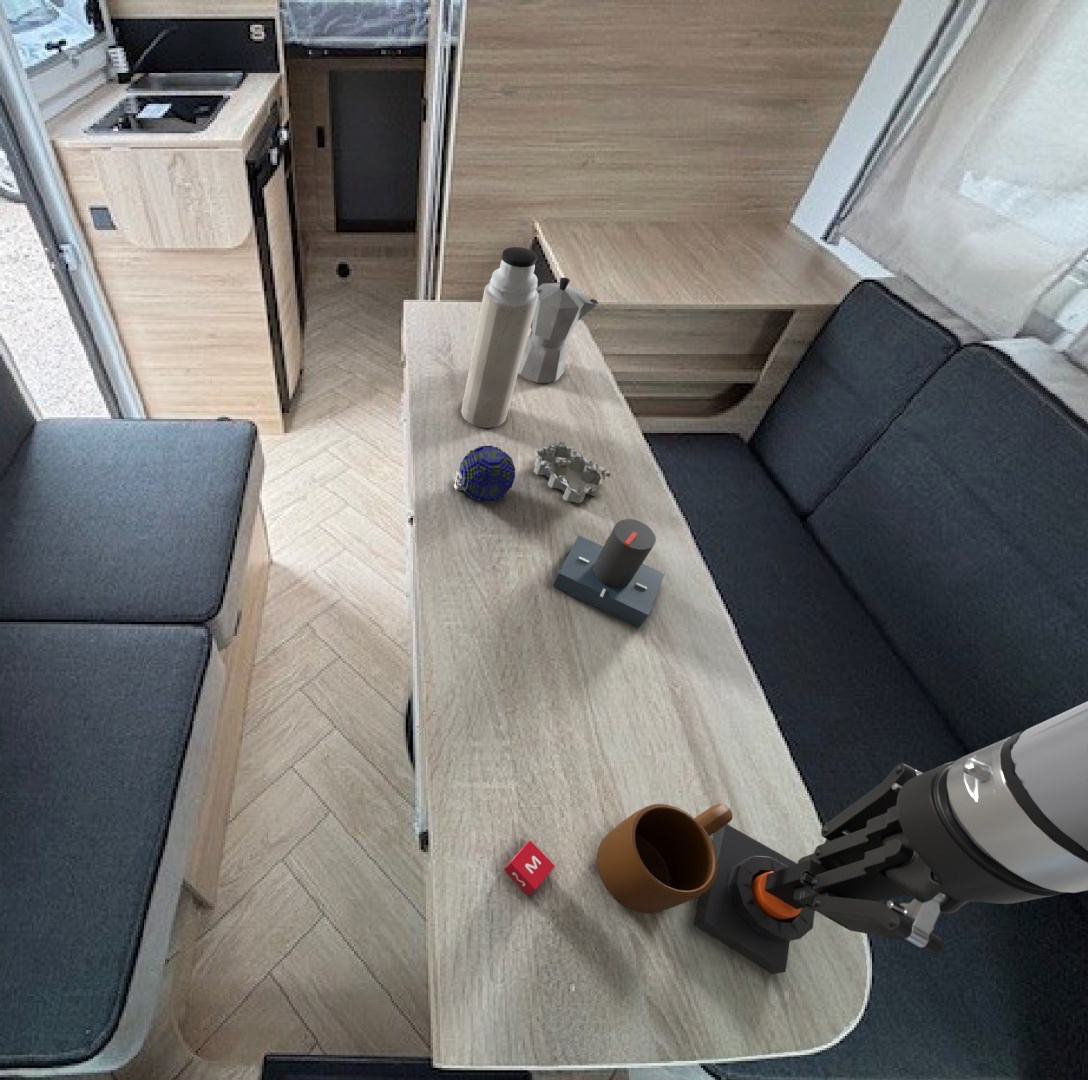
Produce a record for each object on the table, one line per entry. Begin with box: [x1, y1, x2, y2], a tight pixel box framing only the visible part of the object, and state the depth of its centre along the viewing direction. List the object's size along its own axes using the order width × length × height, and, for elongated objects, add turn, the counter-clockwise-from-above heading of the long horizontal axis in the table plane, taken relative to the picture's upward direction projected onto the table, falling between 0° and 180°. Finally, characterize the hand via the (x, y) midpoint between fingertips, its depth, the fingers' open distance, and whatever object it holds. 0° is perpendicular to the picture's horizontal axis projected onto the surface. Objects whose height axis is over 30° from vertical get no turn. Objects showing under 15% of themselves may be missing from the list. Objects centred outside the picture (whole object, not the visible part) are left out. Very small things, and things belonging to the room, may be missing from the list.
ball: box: [453, 445, 516, 502], centre depth 89 cm, size 8×8×8 cm
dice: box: [503, 839, 556, 896], centre depth 57 cm, size 3×3×3 cm
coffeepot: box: [518, 276, 599, 384], centre depth 107 cm, size 15×9×18 cm, turn 75°
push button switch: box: [692, 823, 816, 975], centre depth 55 cm, size 8×10×4 cm
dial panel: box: [552, 534, 666, 629], centre depth 79 cm, size 12×9×3 cm
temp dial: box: [593, 518, 657, 588], centre depth 75 cm, size 5×5×8 cm
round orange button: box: [751, 872, 802, 920], centre depth 54 cm, size 4×4×2 cm
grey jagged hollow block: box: [533, 441, 611, 504], centre depth 92 cm, size 11×8×4 cm
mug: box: [596, 803, 734, 915], centre depth 55 cm, size 12×8×9 cm, turn 118°
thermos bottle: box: [461, 246, 539, 429], centre depth 94 cm, size 8×8×28 cm
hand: (781, 891), depth 53 cm, fingers closed
